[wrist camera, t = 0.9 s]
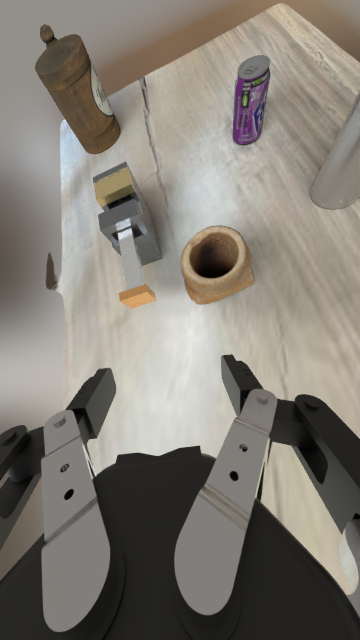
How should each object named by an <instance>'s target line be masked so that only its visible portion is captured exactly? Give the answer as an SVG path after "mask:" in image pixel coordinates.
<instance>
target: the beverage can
mask: <svg viewBox="0 0 360 640" xmlns="http://www.w3.org/2000/svg"><path fill="white" fill-rule="evenodd" d="M269 64H270V59H269V58H268V57H267V56H264V55H258V56H254V57H251V58H249V59H247V60H245V61H244V62H243V63H242V64H241V65H240V66H239V68H238V76H237V79H236V82H235V96H234V120H233V140H234V141H235V142H236V143H238V144H248V143H250V142H253V141H254V140H256V139H257V138H258V137H259V135H260V134H261V129H262V123H263V116H264V110H265V104H266V98H267V91H268V85H269V79H270V70H269Z"/></svg>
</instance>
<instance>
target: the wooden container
mask: <svg viewBox="0 0 360 640" xmlns="http://www.w3.org/2000/svg"><path fill="white" fill-rule="evenodd" d="M40 30H41V31H40V37H41V39H42V40H43V42H45V43H46V45H47V46H46V47H47V49H46V50H45V51H44V52H43V54H42V55H41V56H40V58H39V59H38V60H37V62H36V65H35V70H36V72H37V74H38V76H39V77H40V79H41V80H42V82H43V84H44V85H45V87H46V88H47V90H48V91H49V93H50V95H51V96H52V98H53V100H54V101H55V103H56V104H57V106H58V108H59V109H60V111H61V112H62V114H63V116H64V117H65V119H66V121H67V123H68V124H69V126H70V127H71V129H72V130H73V132H74V134H75V135H76V137H77V138H78V140H79V141H80V143H81V145H82V146H83V148H84V149H85V151H86V152H88V153H91V154H96V153H100V152H103V151H105V150H106V149H108V148H109V147H111V146H112V145H113V144H114V143H115V141H116V140H117V138H118V137H119V134H120V127H119V125H118V122H117V120H116V118H115V115H114V113H113V110H112V108H111V106H110V103H109V101H108V99H107V96H106V94H105V92H104V90H103V88H102V85H101V83H100V81H99V79H98V76H97V74H96V72H95V70H94V67H93V65H92V63H91V61H90V59H89V55H88V53H87V51H86V48H85V46H84V44H83V41H82V39H81V37H80V36H79V35H75V34H73V35H69V36H65V37H63V38H61V39H59V40H57V39H56V38H55V37H54V33H53V31H52V29H51V28H50V26H47V25H43V26H42V27H41V28H40Z"/></svg>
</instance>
